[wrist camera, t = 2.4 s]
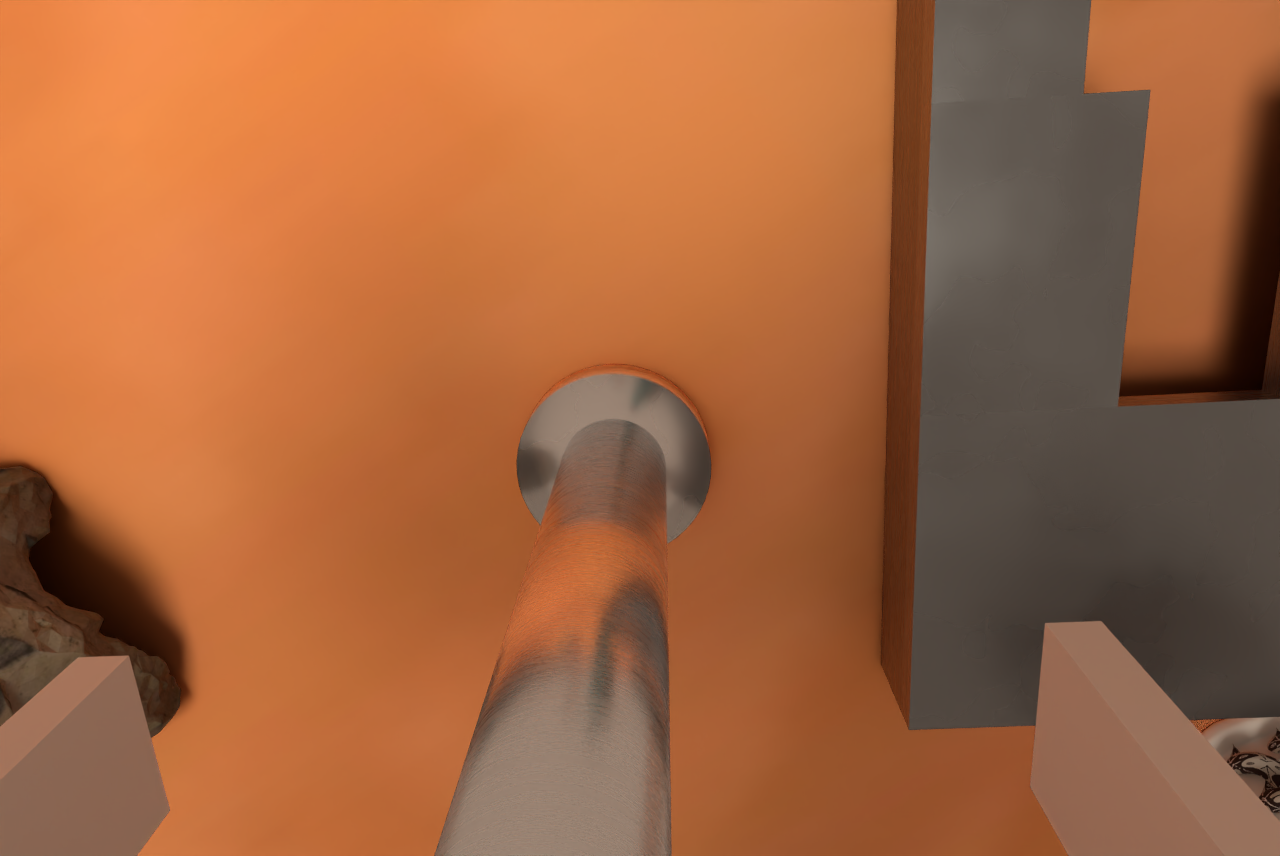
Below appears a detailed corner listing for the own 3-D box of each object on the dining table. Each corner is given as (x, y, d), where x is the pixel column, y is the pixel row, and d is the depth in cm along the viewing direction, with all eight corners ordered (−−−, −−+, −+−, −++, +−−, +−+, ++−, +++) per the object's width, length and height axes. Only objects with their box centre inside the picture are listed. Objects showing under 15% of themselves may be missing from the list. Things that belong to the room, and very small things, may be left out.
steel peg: (712, 535, 26) (796, 1185, 10) (532, 543, 26) (319, 1192, 10) (705, 359, 24) (792, 778, 8) (514, 368, 25) (229, 796, 8)
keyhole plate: (1326, 647, 27) (1413, 712, 23) (880, 663, 27) (908, 729, 24) (1535, -452, 19) (1705, -567, 16) (906, -400, 19) (953, -502, 16)
